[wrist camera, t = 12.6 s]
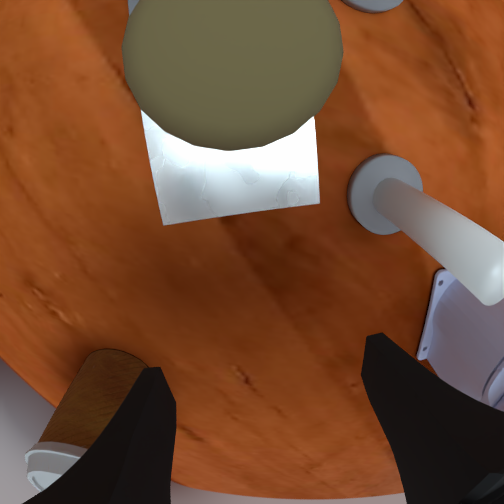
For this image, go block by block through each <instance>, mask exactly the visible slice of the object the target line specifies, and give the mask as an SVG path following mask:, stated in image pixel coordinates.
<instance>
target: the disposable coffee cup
mask: <svg viewBox="0 0 504 504" xmlns="http://www.w3.org/2000/svg"><path fill="white" fill-rule="evenodd" d="M144 368H148V367H147V366H146V365H145V364H144V363H143V362H142V361H141V360H139V359H137V358H136V357H134V356H132V355H130V354H127V353H125V352H122V351H118V350H112V349H103V350H98V351H95V352H93V353H91V354H90V355H89V356H88V357H87V359H86V360H85V362H84V364H83V365H82V367H81V368H80V370H79V372H78V373H77V375H76V377H75V378H74V380H73V382H72V383H71V385H70V387H69V388H68V390H67V392H66V393H65V395H64V397H63V398H62V400H61V402H60V404H59V405H58V407H57V409H56V410H55V412H54V414H53V416H52V418H51V419H50V422H49V423H48V425H47V427H46V429H45V430H44V432H43V434H42V436H41V438H40V440H39V442H38V443H37V444H35V445H34V446H33V447H32V448H31V449H30V450H29V451H27V452H26V454H25V460H26V463H27V465H28V468H27V478H28V480H29V481H30V483H31V484H32V485H33V486H34V487H35V488H36V489H37V490H38V491H40V492H41V491H43V490H44V489H46V488H47V487H48V486H50V485H51V484H52V483H53V482H55V481H56V480H57V479H58V478H59V477H61V476H62V475H63V474H64V473H65V472H66V471H67V470H68V469H69V468H70V467H72V466H73V465H74V464H75V463H76V462H77V461H78V460H79V458H80V457H81V456H82V455H83V454H84V453H85V452H86V451H87V450H88V449H89V448H90V446H91V445H92V444H93V443H94V442H95V440H96V439H97V438H98V437H99V435H100V434H101V433H102V431H103V430H104V428H105V427H106V426H107V424H108V423H109V422H110V420H111V419H112V417H113V416H114V414H115V413H116V411H117V410H118V408H119V407H120V405H121V404H122V402H123V401H124V399H125V397H126V396H127V394H128V393H129V391H130V389H131V388H132V386H133V385H134V383H135V381H136V380H137V378H138V376H139V375H140V373H141V371H142V370H143V369H144Z"/></svg>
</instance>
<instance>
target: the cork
mask: <svg viewBox="0 0 504 504" xmlns="http://www.w3.org/2000/svg"><path fill="white" fill-rule="evenodd" d="M122 55H123V64H124V72H125V79H126V81H127V83H128V85H129V87H130V89H131V91H132V93H133V95H134V97H135V99H136V101H137V103H138V105H139V106H140V108H141V110H142V111H143V112H144V113H145V114H146V115H147V116H148V117H149V118H150V119H152V120H153V121H154V122H155V123H156V124H157V125H158V126H159V127H160V128H161V129H162V130H163V131H164V132H166V133H168V134H170V135H172V136H174V137H177V138H179V139H181V140H183V141H185V142H187V143H189V144H191V145H193V146H196V147H203V148H210V149H216V150H223V151H236V150H244V149H251V148H259V147H264V146H266V145H269V144H271V143H273V142H275V141H278V140H280V139H282V138H285V137H287V136H289V135H292V134H294V133H295V132H296V131H297V130H298V129H300V128H301V127H302V126H303V125H304V124H305V123H307V122H308V121H309V120H310V119H311V118H312V117H314V116H315V115H316V114H317V113H318V112H319V111H320V110H321V108H322V107H323V105H324V103H325V102H326V100H327V98H328V97H329V95H330V93H331V92H332V90H333V89H334V87H335V85H336V84H337V81H338V76H339V72H340V67H341V62H342V57H343V45H342V38H341V31H340V24H339V21H338V19H337V17H336V15H335V13H334V11H333V9H332V7H331V5H330V3H329V2H328V0H139V2H138V3H137V5H136V6H135V8H134V9H133V11H132V13H131V14H130V16H129V18H128V22H127V26H126V30H125V35H124V39H123V43H122Z"/></svg>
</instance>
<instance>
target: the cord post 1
mask: <svg viewBox="0 0 504 504" xmlns="http://www.w3.org/2000/svg"><path fill="white" fill-rule="evenodd" d="M341 1H343V2H344V3H345V4H347V5H348V6H350V7H352V8H354V9H356V10H359V11H362V12H367V13H381V12H385V11H387V10H390V9H392V8H394V7H396V6H398V5H399V4H400V3H401V2H402V1H403V0H341Z"/></svg>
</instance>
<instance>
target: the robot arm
mask: <svg viewBox="0 0 504 504" xmlns="http://www.w3.org/2000/svg"><path fill="white" fill-rule="evenodd" d="M439 281H440V282H439ZM417 358H418V360H423V359H426V358H427V359H428V361H429V363H430V364H431V366H432V367H433V369H434V370H435V372H436V373H437V375H438V376H439V377H437V376H436V375H435V374H433V373H432V372H430V371H429V370H428V369H426V368H425V367H424V366H423V365H421V364H420V363H419V362H417V361H416V360H415V359H414V358H412V357H411V356H410V355H409V354H408V353H406V352H405V351H404V350H403V349H402V348H400V347H399V346H398V345H397V344H396V343H394V342H393V341H392V340H391V339H390V338H388V337H387V336H386V335H385V334H383V333H378V334H374V335H370V336H367V337H366V345H365V352H364V359H363V365H362V372H361V376H362V380H363V383H364V386H365V389H366V392H367V395H368V398H369V400H370V403H371V405H372V407H373V409H374V411H375V413H376V416H377V418H378V420H379V422H380V424H381V426H382V428H383V431H384V433H385V435H386V437H387V439H388V441H389V444H390V446H391V449H392V451H393V454H394V457H395V460H396V463H397V467H398V470H399V473H400V477H401V481H402V485H403V488H404V492H405V497H406V502H407V504H504V298H503V299H502V300H501V301H499V302H498V303H496V304H494V305H490V306H487V305H484V304H483V303H482V302H481V301H480V300H479V299H478V298H477V297H476V296H474V295H473V294H472V293H471V292H470V291H469V290H468V289H467V288H466V287H465V286H464V285H463V284H462V283H461V282H460V281H459V280H458V279H457V278H456V277H454V276H453V275H452V274H451V273H450V272H449V271H448V270H447V269H442V270H439V271H438V272H437V273H436V274H435V278H434V283H433V289H432V294H431V299H430V303H429V308H428V313H427V317H426V321H425V326H424V330H423V334H422V338H421V341H420V345H419V349H418V352H417ZM175 435H176V401H175V399H174V397H173V395H172V392H171V390H170V388H169V386H168V384H167V381H166V379H165V377H164V374H163V372H162V370H161V367H151V368H144V369H143V370H142V371H141V373H140V375H139V376H138V378H137V380H136V381H135V383H134V385H133V386H132V388H131V389H130V391H129V393H128V394H127V396H126V397H125V399H124V401H123V402H122V404H121V405H120V407H119V408H118V410H117V411H116V413H115V414H114V416H113V417H112V419H111V420H110V422H109V423H108V424H107V426H106V427H105V428H104V430H103V431H102V433H101V434H100V435H99V437H98V438H97V439H96V440H95V442H94V443H93V444H92V445H91V446H90V448H89V449H88V450H87V451H86V452H85V453H84V454H83V455H82V456H81V457H80V458H79V460H78V461H77V462H76V463H75V464H74V465H73V466H72V467H70V468H69V469H68V470H67V471H66V472H65V473H64V474H63V475H62V476H61V477H59V478H58V479H57V480H56V481H55V482H53V483H52V484H51V485H50V486H48V487H47V488H46V489H44V490H43V491H41V492H40V493H38V494H37V495H35V496H34V497H32V498H31V499H29V500H27V501H26V502H24V503H23V504H171V500H170V482H171V471H172V462H173V453H174V444H175Z"/></svg>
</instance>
